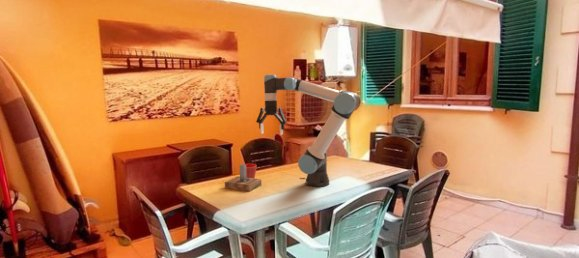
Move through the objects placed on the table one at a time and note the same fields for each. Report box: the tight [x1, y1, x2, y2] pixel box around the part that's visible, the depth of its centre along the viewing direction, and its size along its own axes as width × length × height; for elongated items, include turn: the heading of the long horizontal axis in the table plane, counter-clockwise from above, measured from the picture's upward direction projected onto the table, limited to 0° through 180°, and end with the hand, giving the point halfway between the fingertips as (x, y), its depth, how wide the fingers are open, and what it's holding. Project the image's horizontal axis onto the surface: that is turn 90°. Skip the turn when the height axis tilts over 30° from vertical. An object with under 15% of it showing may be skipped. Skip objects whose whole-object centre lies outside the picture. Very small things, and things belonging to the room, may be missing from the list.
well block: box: [224, 175, 262, 192], centre depth 215 cm, size 18×14×4 cm
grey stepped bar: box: [238, 163, 249, 183], centre depth 215 cm, size 5×5×14 cm
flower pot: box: [244, 163, 257, 179], centre depth 232 cm, size 11×11×10 cm
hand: (271, 134), depth 215 cm, fingers open, 13 cm apart
